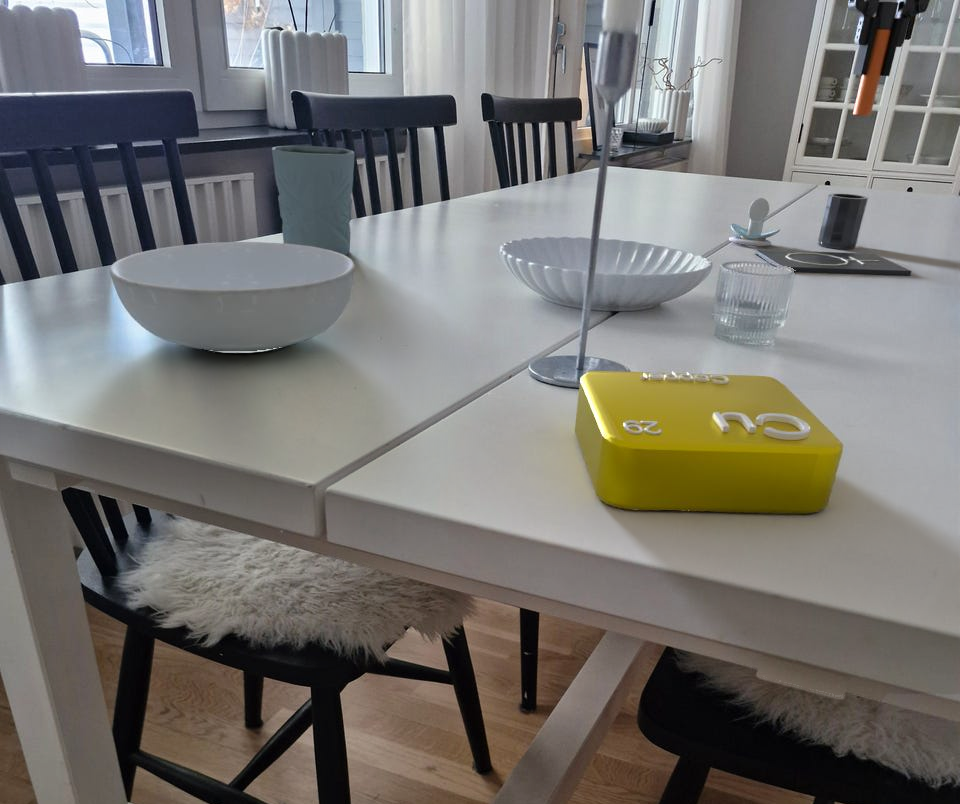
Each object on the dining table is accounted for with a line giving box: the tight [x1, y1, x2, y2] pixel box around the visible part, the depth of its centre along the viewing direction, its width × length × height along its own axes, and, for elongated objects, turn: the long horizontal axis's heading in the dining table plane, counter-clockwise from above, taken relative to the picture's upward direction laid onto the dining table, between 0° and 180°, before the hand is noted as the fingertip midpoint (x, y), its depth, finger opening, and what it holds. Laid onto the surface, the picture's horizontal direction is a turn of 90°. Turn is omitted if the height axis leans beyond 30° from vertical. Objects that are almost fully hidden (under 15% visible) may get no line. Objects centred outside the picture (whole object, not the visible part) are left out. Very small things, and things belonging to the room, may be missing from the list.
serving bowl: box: [109, 241, 356, 351], centre depth 81 cm, size 21×21×7 cm
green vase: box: [271, 145, 356, 256], centre depth 115 cm, size 10×10×12 cm
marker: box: [852, 1, 898, 117], centre depth 123 cm, size 3×3×13 cm
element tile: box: [574, 370, 844, 515], centre depth 60 cm, size 15×15×5 cm
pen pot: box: [817, 192, 869, 250], centre depth 137 cm, size 6×6×7 cm
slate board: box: [754, 249, 913, 276], centre depth 126 cm, size 18×12×1 cm, turn 93°
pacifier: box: [728, 197, 781, 247], centre depth 135 cm, size 7×6×6 cm
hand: (871, 74), depth 124 cm, fingers closed on marker, 3 cm apart
